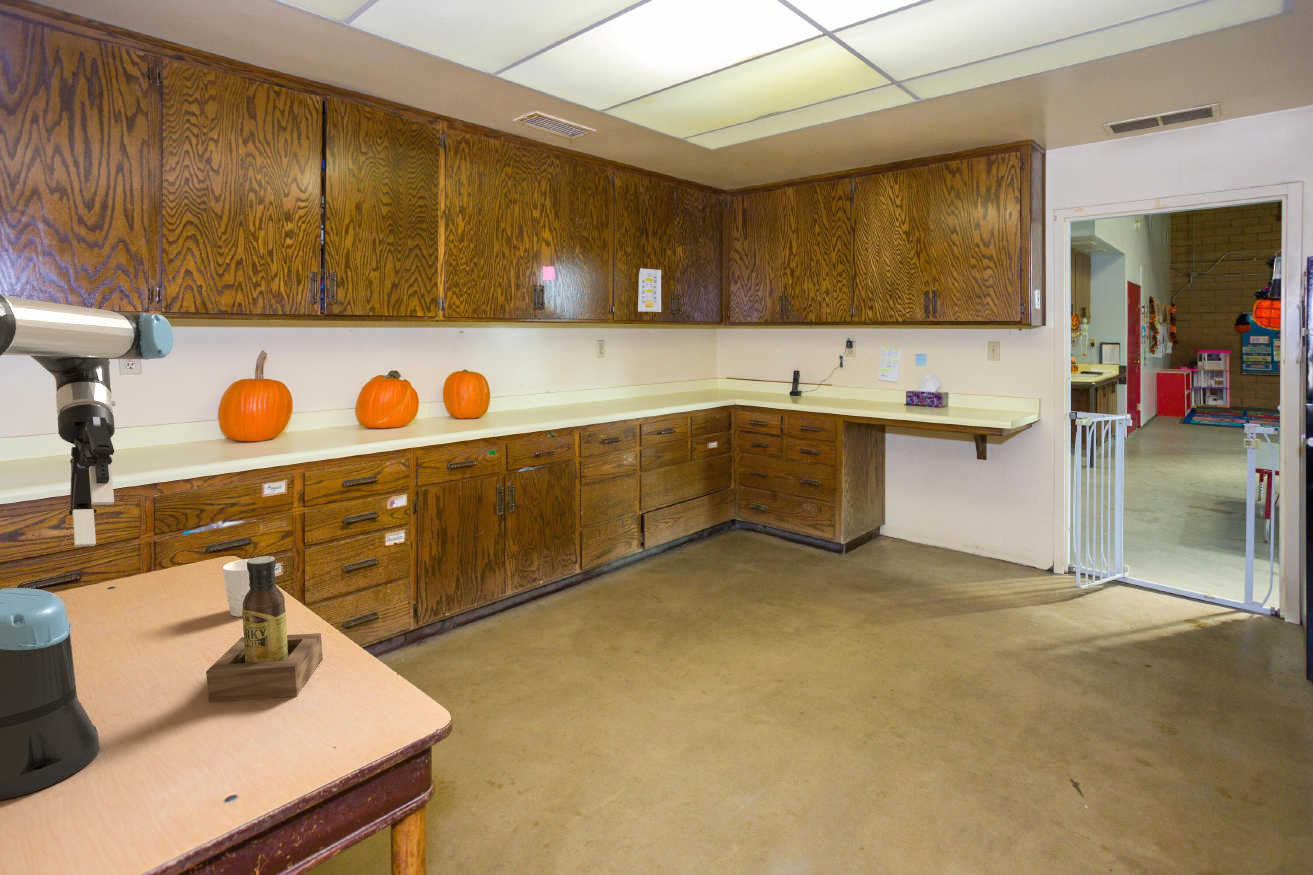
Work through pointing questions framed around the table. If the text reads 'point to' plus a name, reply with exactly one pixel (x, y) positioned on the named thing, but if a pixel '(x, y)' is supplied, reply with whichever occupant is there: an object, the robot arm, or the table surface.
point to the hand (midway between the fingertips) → (93, 525)
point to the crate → (264, 671)
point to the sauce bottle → (264, 614)
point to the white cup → (236, 585)
